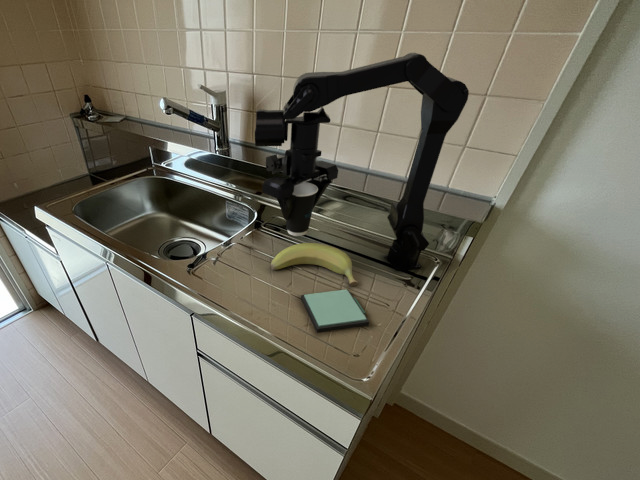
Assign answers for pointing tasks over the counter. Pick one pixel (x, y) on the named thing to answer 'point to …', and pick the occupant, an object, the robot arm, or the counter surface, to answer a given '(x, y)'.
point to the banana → (315, 258)
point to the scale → (334, 311)
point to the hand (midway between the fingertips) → (298, 214)
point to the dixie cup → (301, 209)
